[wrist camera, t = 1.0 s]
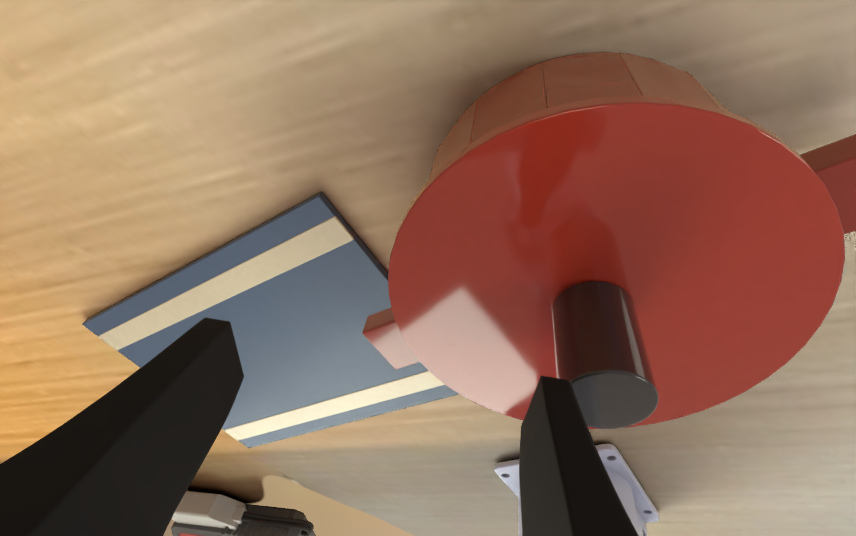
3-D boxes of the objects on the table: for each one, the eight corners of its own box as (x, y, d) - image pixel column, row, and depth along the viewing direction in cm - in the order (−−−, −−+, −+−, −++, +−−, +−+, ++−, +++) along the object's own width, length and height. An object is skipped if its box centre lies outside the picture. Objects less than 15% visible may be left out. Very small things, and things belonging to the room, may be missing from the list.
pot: (852, 237, 18) (949, 343, 14) (461, 353, 26) (450, 445, 22) (804, -89, 13) (940, -71, 9) (322, 180, 20) (271, 259, 16)
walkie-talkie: (310, 497, 40) (100, 475, 43) (291, 555, 36) (64, 526, 40) (333, 542, 45) (145, 519, 49) (318, 596, 42) (117, 568, 45)
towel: (478, 384, 27) (477, 390, 27) (250, 443, 35) (248, 449, 35) (321, 191, 21) (318, 196, 20) (86, 319, 29) (81, 324, 28)
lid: (849, 357, 16) (941, 491, 12) (500, 430, 21) (496, 536, 18) (780, -30, 10) (923, 22, 6) (316, 212, 15) (258, 310, 12)
